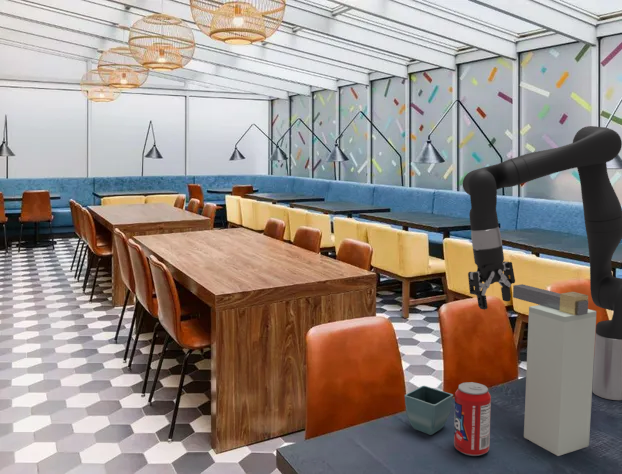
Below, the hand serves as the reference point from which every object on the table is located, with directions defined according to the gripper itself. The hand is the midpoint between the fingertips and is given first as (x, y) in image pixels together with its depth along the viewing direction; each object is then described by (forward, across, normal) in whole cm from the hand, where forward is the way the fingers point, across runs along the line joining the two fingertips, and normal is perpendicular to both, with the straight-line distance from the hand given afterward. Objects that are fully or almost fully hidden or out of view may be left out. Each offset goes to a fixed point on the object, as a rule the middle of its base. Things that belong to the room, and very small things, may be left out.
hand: (495, 304), depth 155 cm
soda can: (+26, +27, +14) cm, 40 cm away
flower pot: (+25, +28, +1) cm, 38 cm away
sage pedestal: (+29, +7, +20) cm, 36 cm away
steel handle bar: (-3, +3, +20) cm, 20 cm away
